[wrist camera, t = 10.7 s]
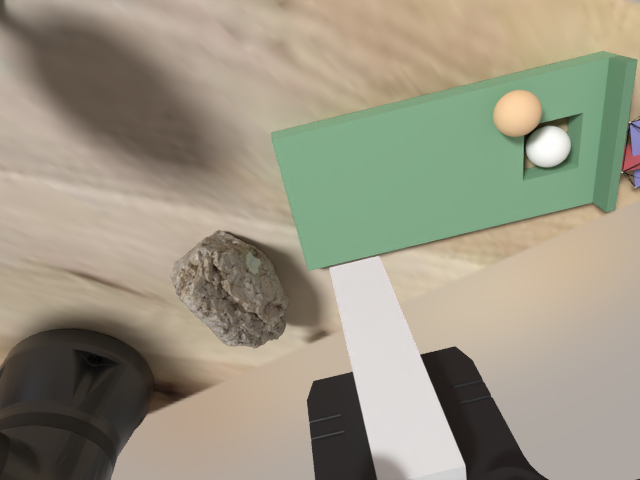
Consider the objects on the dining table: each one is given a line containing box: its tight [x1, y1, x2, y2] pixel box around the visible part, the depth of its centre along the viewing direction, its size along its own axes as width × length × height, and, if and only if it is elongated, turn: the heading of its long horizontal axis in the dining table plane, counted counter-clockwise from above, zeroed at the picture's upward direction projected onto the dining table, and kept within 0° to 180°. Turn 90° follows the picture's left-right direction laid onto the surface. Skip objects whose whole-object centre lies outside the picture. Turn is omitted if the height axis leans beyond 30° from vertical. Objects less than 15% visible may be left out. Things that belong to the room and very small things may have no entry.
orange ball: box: [493, 90, 542, 137], centre depth 35 cm, size 4×4×4 cm
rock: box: [170, 231, 289, 348], centre depth 40 cm, size 14×10×8 cm
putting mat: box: [271, 51, 637, 271], centre depth 39 cm, size 28×13×4 cm, turn 102°
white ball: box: [525, 126, 571, 167], centre depth 39 cm, size 4×4×4 cm
